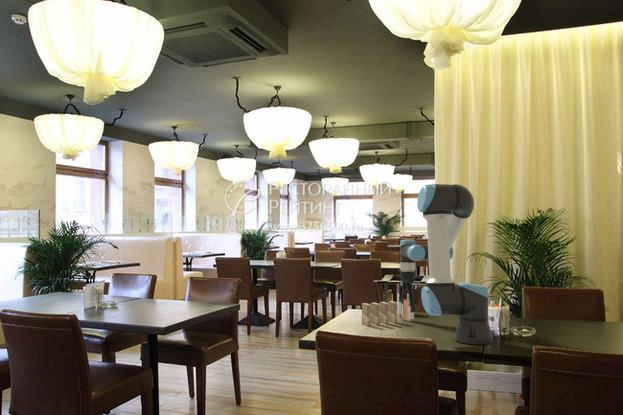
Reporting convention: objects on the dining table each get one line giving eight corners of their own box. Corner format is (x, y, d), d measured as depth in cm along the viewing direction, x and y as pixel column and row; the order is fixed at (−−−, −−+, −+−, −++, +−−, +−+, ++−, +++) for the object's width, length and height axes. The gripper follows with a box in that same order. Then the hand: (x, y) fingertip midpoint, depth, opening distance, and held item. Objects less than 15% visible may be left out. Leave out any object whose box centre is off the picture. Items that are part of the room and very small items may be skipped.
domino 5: (406, 319, 253) (406, 299, 253) (412, 320, 249) (412, 300, 249) (403, 319, 252) (403, 299, 252) (409, 321, 248) (409, 300, 248)
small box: (412, 313, 270) (412, 293, 271) (413, 315, 265) (413, 295, 265) (397, 313, 271) (397, 293, 271) (398, 315, 266) (398, 295, 266)
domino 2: (374, 323, 245) (374, 302, 245) (379, 325, 241) (379, 304, 241) (370, 323, 244) (370, 302, 245) (376, 325, 240) (376, 304, 240)
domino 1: (365, 324, 243) (365, 303, 243) (370, 326, 239) (370, 304, 239) (361, 324, 242) (361, 303, 243) (367, 326, 238) (367, 305, 238)
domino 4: (391, 321, 249) (391, 301, 250) (397, 323, 245) (397, 302, 245) (388, 321, 249) (388, 301, 249) (393, 323, 244) (393, 302, 244)
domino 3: (383, 322, 247) (382, 301, 248) (388, 324, 243) (388, 303, 243) (379, 322, 247) (379, 302, 247) (385, 324, 242) (385, 303, 242)
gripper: (425, 272, 244) (425, 320, 244) (403, 268, 261) (403, 314, 260) (412, 272, 241) (412, 321, 241) (391, 269, 258) (391, 315, 257)
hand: (408, 317), depth 250 cm, fingers closed on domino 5, 5 cm apart
